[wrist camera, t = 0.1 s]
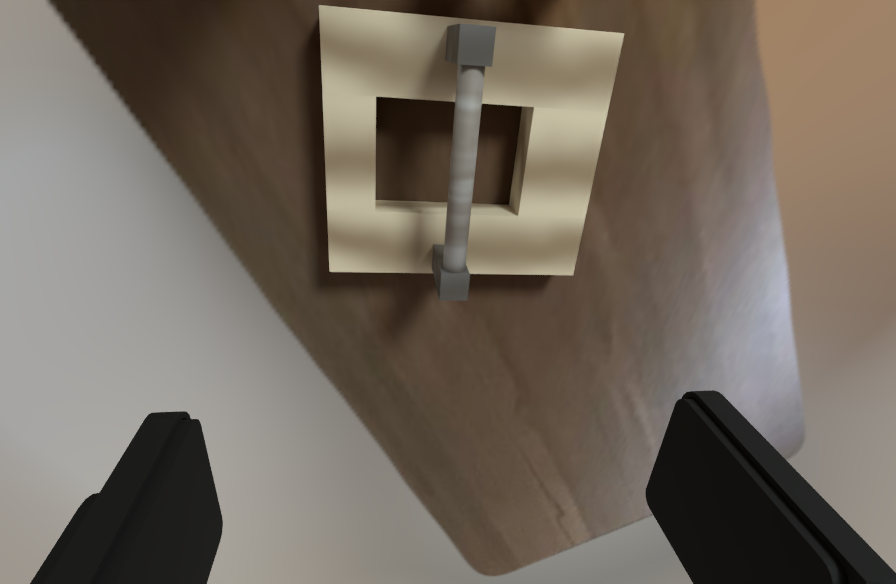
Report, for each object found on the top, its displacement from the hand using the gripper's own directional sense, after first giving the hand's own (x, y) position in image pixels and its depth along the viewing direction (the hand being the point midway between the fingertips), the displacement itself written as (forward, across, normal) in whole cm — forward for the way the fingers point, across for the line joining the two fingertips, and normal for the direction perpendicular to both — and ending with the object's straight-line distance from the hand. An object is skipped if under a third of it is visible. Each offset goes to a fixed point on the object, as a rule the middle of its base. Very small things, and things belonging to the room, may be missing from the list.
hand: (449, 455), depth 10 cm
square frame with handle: (+31, -4, 0) cm, 31 cm away
